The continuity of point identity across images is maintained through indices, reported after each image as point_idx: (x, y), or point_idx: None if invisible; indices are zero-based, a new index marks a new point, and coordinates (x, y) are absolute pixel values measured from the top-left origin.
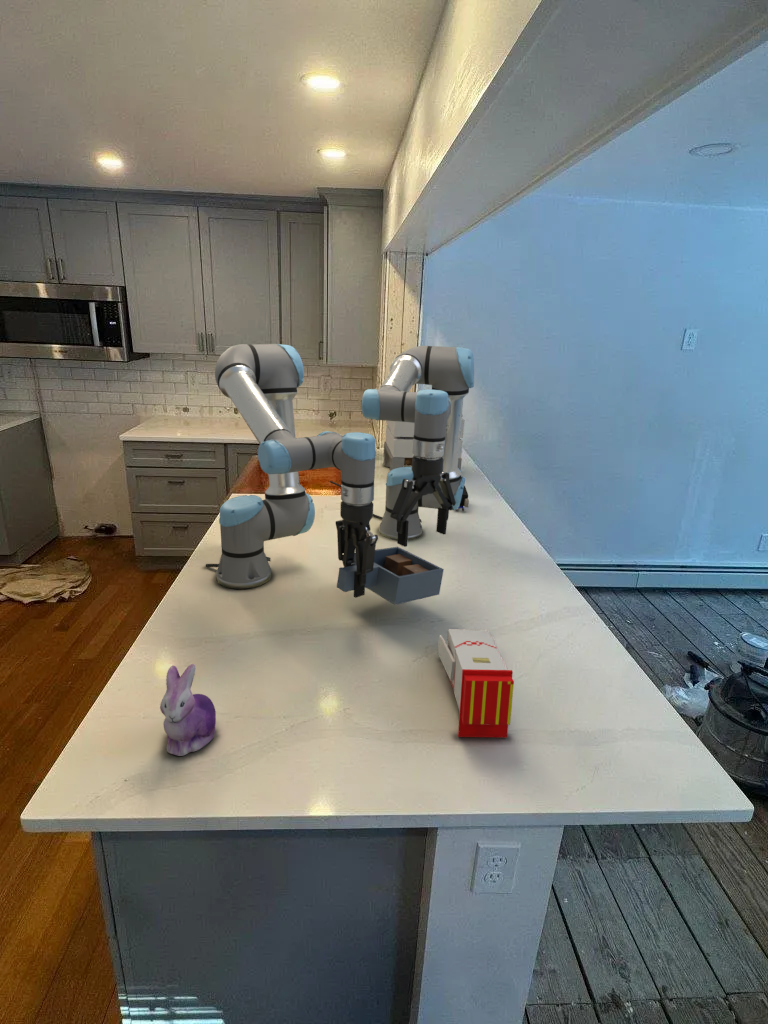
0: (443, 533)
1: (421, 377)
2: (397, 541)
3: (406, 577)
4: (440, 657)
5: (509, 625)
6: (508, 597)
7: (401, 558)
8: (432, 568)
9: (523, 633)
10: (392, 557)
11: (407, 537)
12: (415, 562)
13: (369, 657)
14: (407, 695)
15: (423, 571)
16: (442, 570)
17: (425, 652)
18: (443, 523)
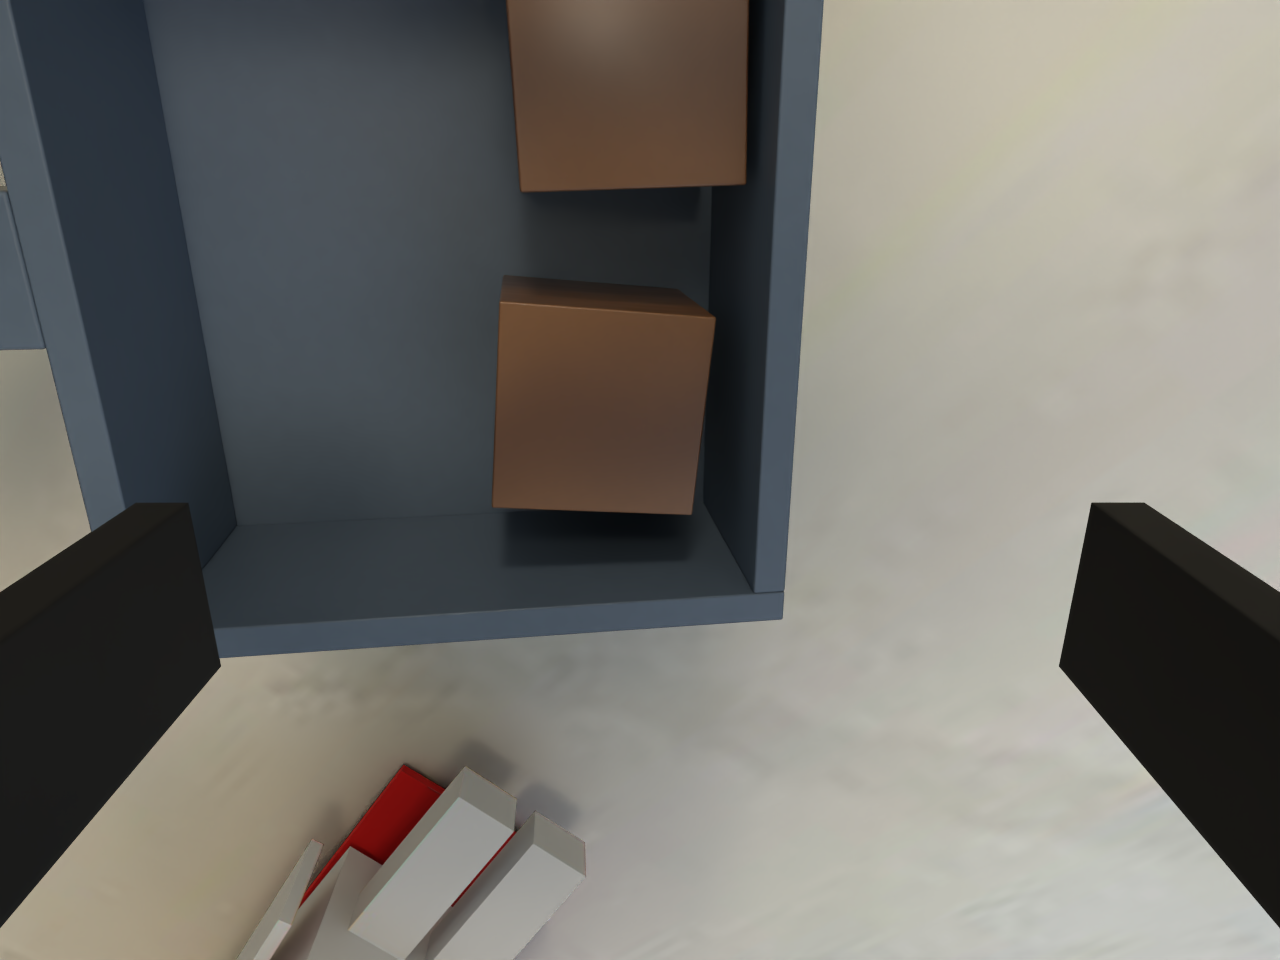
0: (1068, 670)
1: None
2: (116, 515)
3: (241, 650)
4: (282, 888)
5: (950, 753)
6: (1265, 564)
7: (656, 85)
8: (747, 497)
9: (932, 831)
10: (560, 6)
11: (132, 766)
12: (754, 233)
13: (78, 540)
14: (104, 831)
15: (615, 499)
16: (763, 614)
17: (376, 671)
18: (1179, 774)
